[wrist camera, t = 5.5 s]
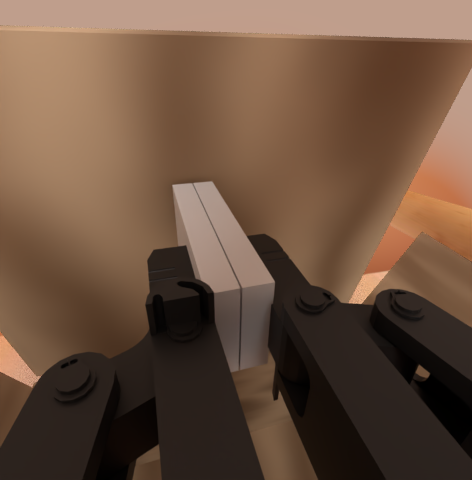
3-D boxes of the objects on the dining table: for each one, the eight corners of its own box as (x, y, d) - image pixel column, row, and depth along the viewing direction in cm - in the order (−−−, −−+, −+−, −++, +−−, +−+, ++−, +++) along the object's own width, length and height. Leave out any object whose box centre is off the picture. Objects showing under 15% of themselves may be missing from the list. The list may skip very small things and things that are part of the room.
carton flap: (343, 311, 23) (338, 304, 24) (484, 43, 12) (469, 39, 12) (36, 376, 18) (38, 365, 19) (-254, 23, 7) (-228, 17, 7)
